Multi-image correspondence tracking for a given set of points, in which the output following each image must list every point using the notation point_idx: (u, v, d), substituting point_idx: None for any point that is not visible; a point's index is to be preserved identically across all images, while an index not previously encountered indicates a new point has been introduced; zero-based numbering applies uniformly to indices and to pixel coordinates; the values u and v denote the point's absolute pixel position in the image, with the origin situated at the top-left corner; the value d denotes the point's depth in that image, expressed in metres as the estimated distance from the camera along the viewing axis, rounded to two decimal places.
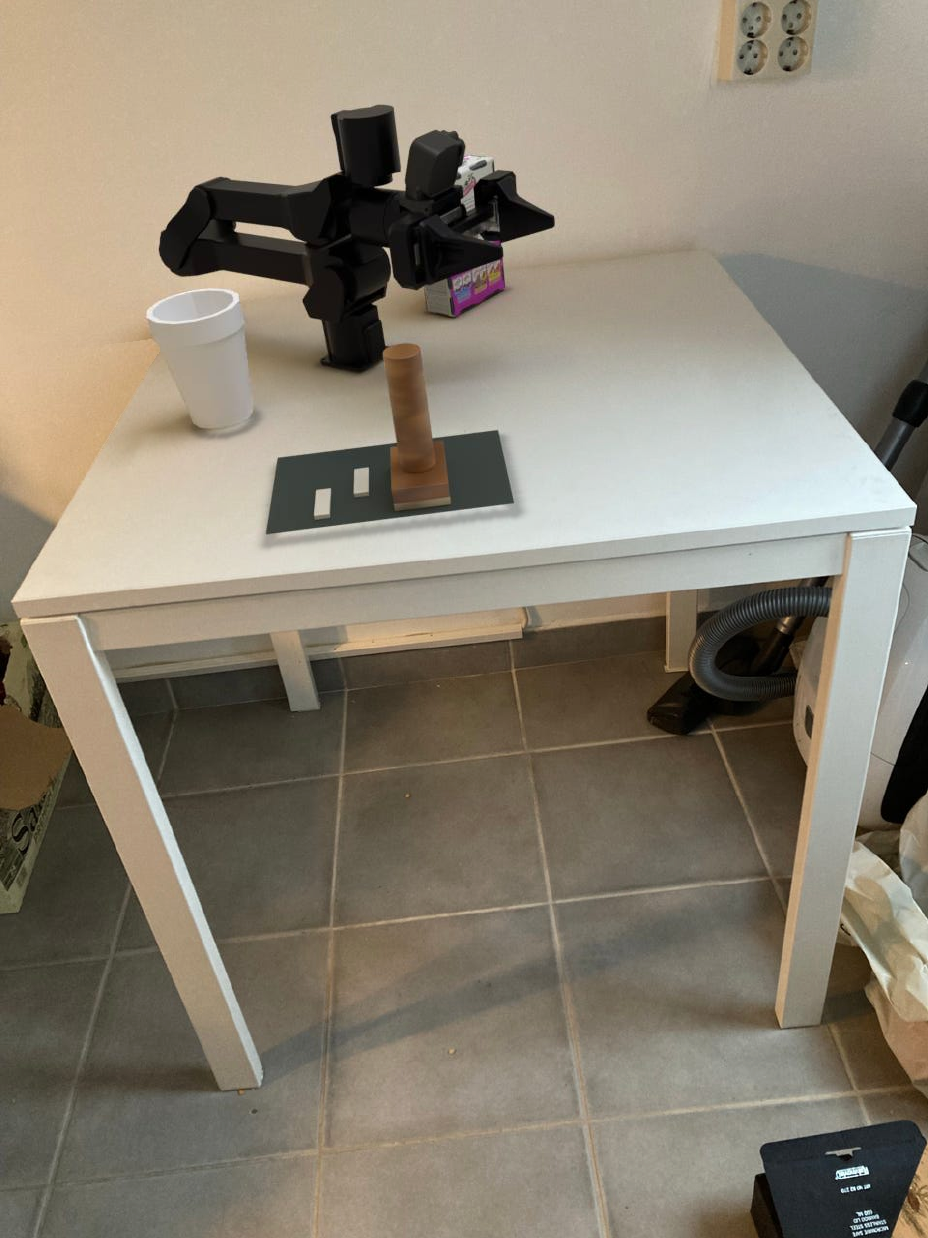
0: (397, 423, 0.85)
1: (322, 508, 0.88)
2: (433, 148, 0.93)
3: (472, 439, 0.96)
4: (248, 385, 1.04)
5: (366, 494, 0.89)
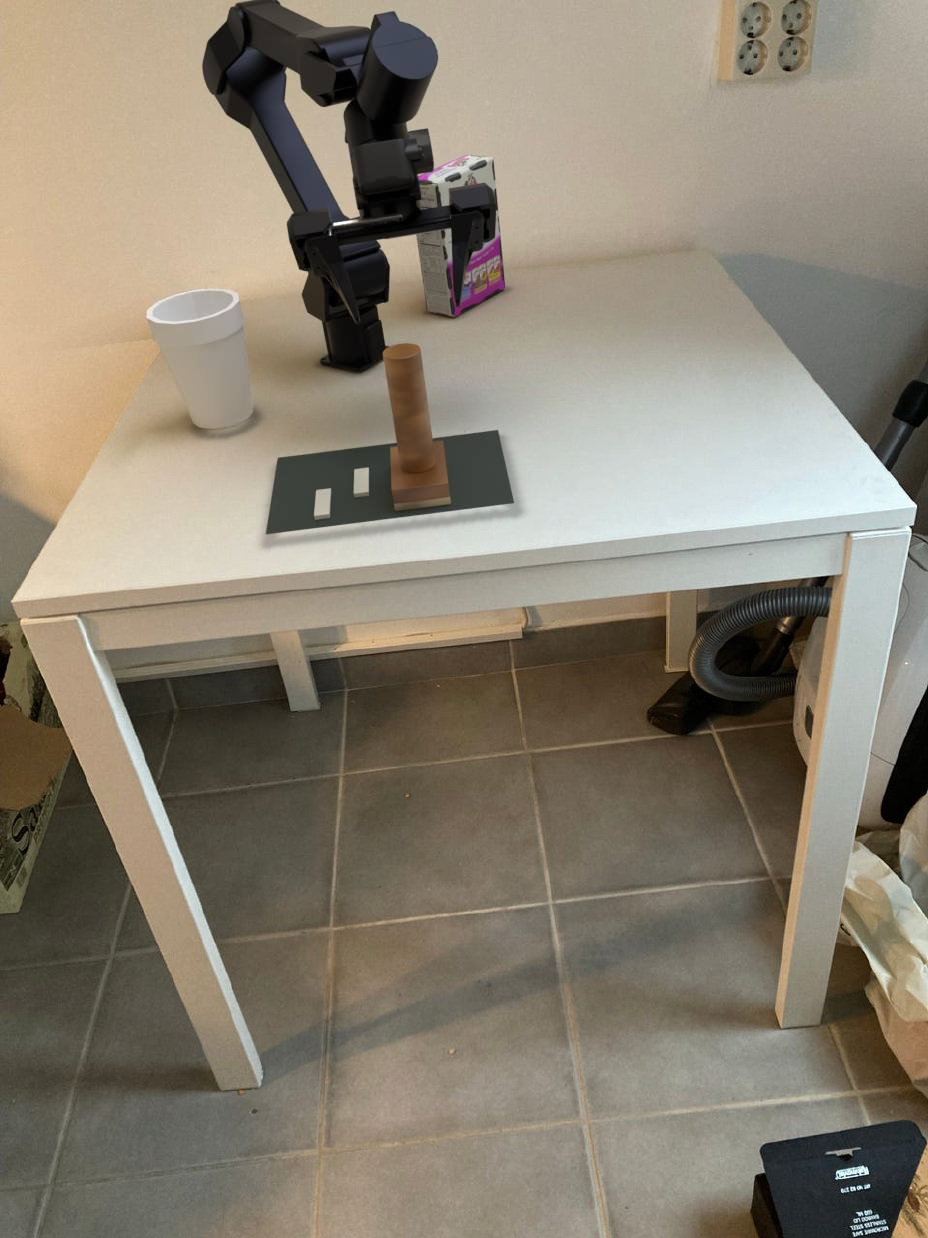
0: (397, 423, 0.85)
1: (322, 508, 0.88)
2: (365, 172, 0.83)
3: (472, 439, 0.96)
4: (248, 385, 1.04)
5: (366, 494, 0.89)
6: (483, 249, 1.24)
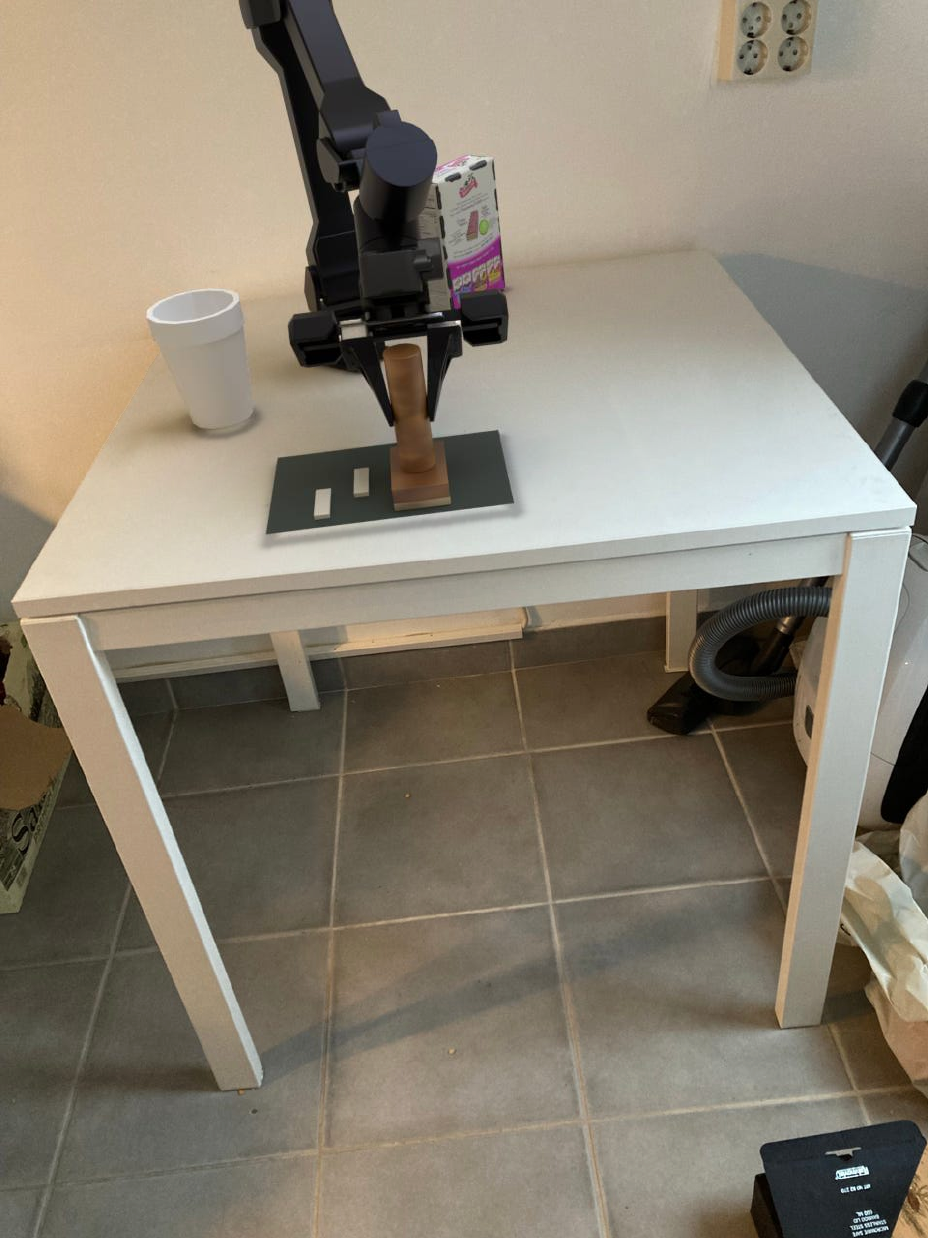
0: (397, 423, 0.85)
1: (322, 508, 0.88)
2: (370, 284, 0.78)
3: (472, 439, 0.96)
4: (248, 385, 1.04)
5: (366, 494, 0.89)
6: (483, 249, 1.24)
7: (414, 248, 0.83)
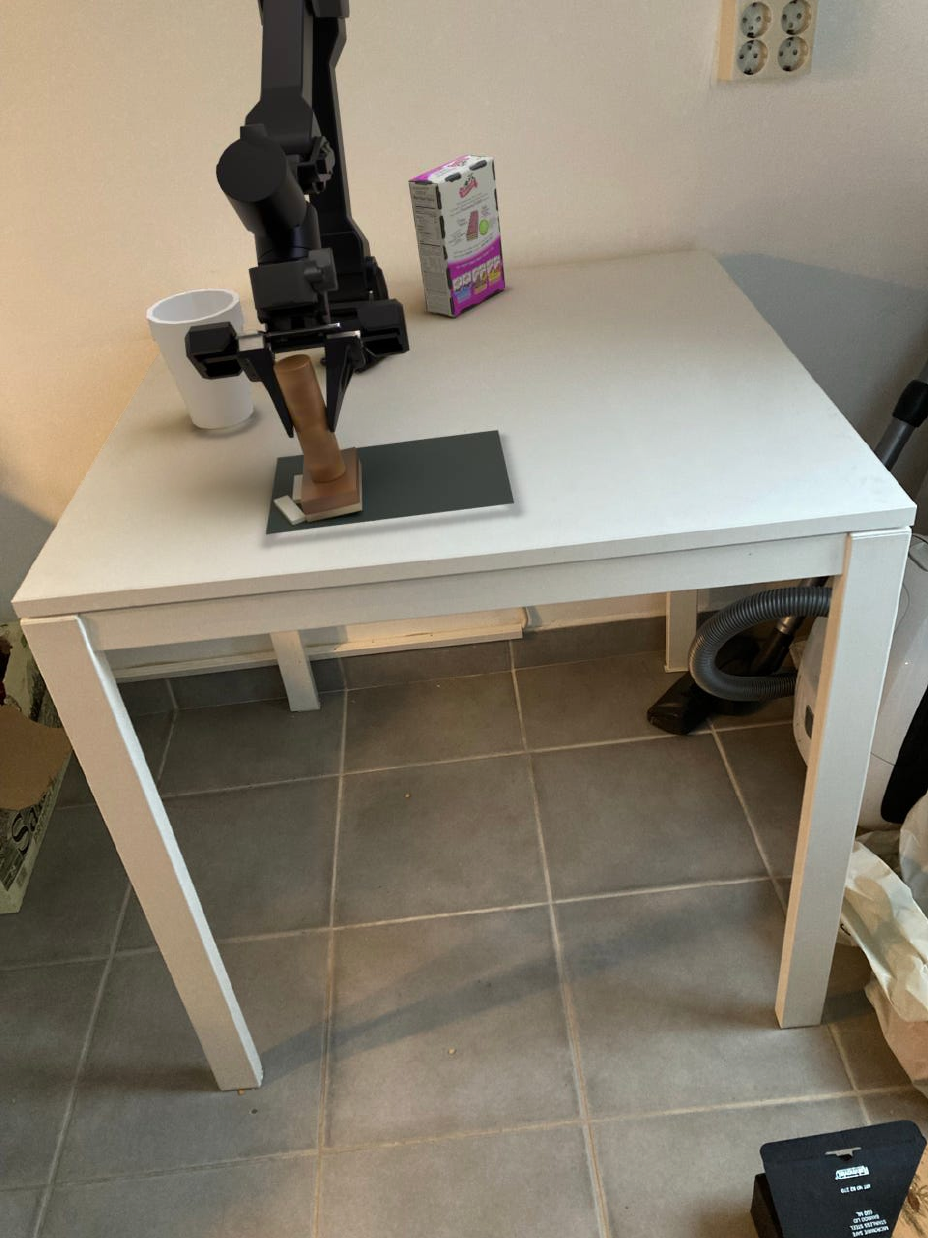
0: (299, 434, 0.85)
1: (295, 513, 0.87)
2: (260, 295, 0.78)
3: (472, 439, 0.96)
4: (248, 385, 1.04)
5: None
6: (483, 249, 1.24)
7: None
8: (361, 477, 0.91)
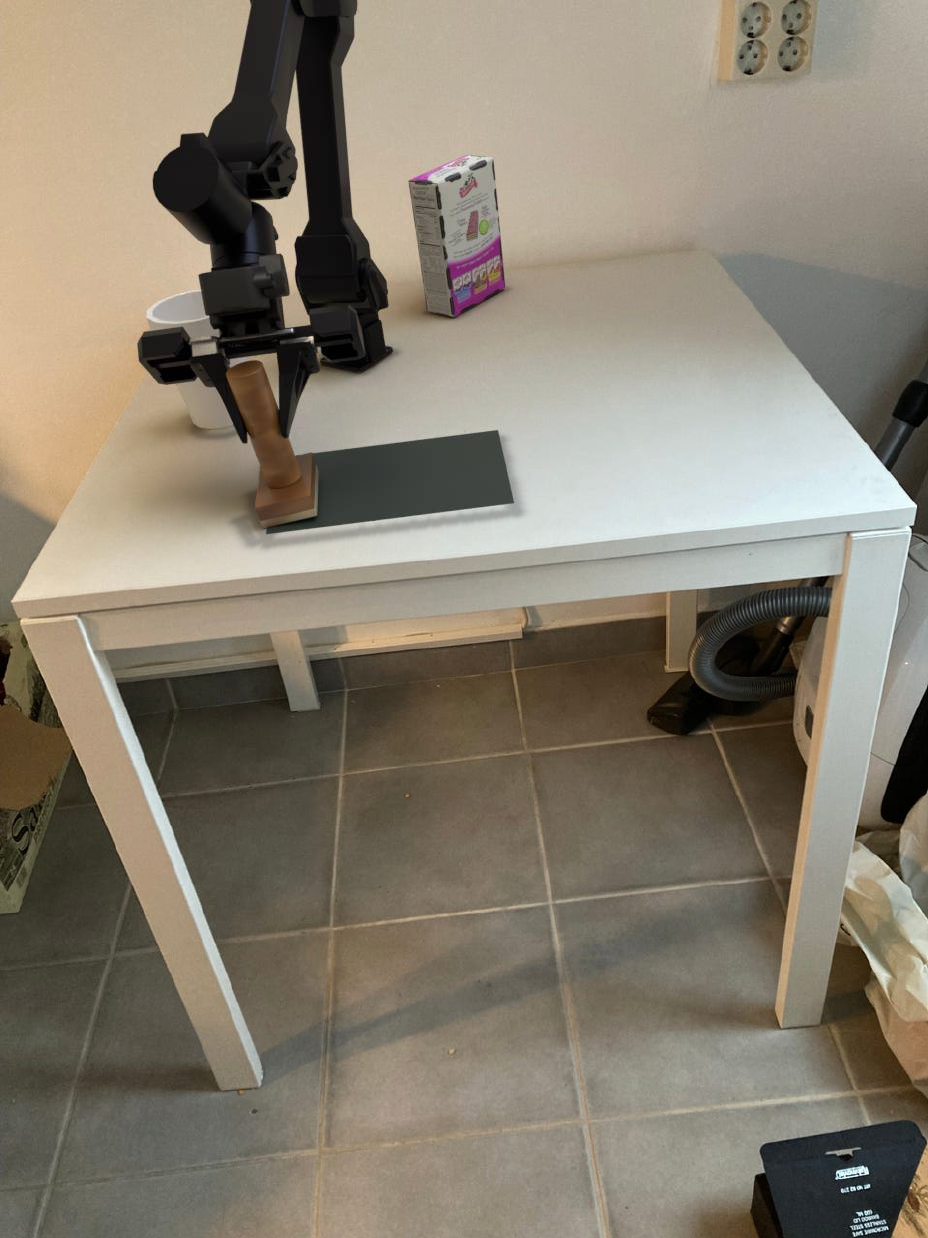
0: (253, 440, 0.85)
1: None
2: (210, 301, 0.78)
3: (472, 439, 0.96)
4: None
5: None
6: (483, 249, 1.24)
7: None
8: None
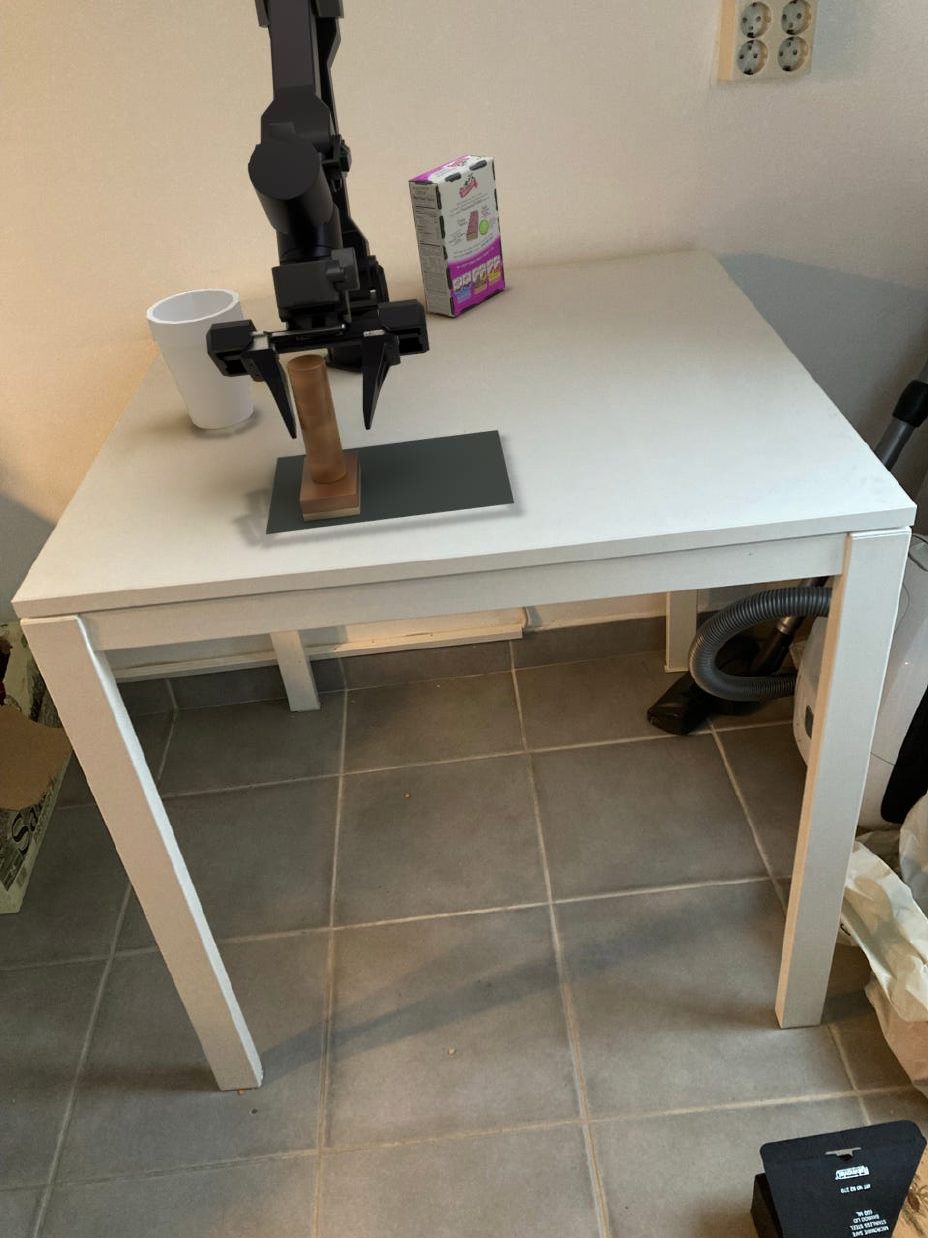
0: (304, 434, 0.85)
1: None
2: (283, 294, 0.78)
3: (472, 439, 0.96)
4: (248, 385, 1.04)
5: None
6: (483, 249, 1.24)
7: None
8: (360, 481, 0.91)
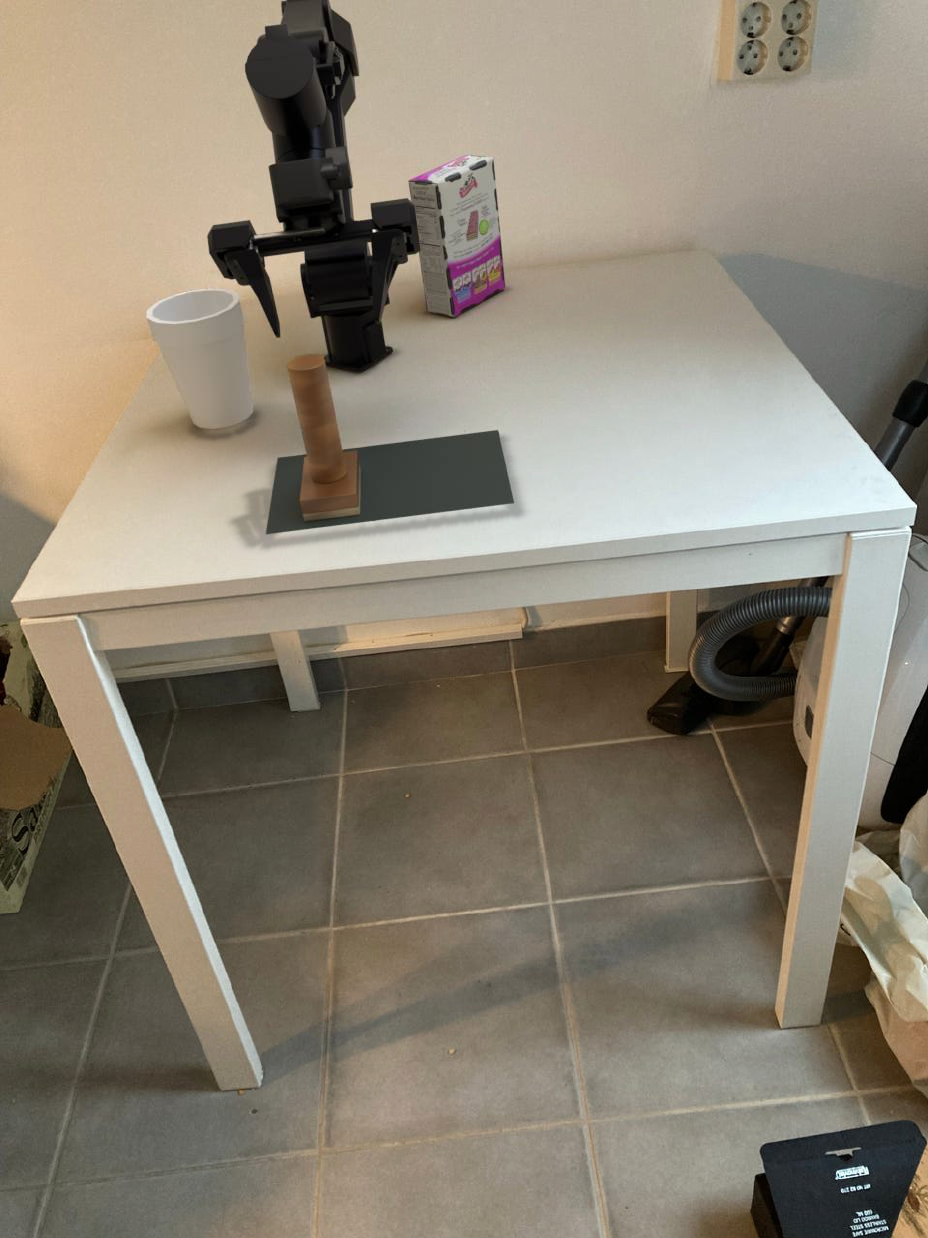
0: (304, 434, 0.85)
1: None
2: (280, 191, 0.82)
3: (472, 439, 0.96)
4: (248, 385, 1.04)
5: None
6: (483, 249, 1.24)
7: None
8: (360, 481, 0.91)
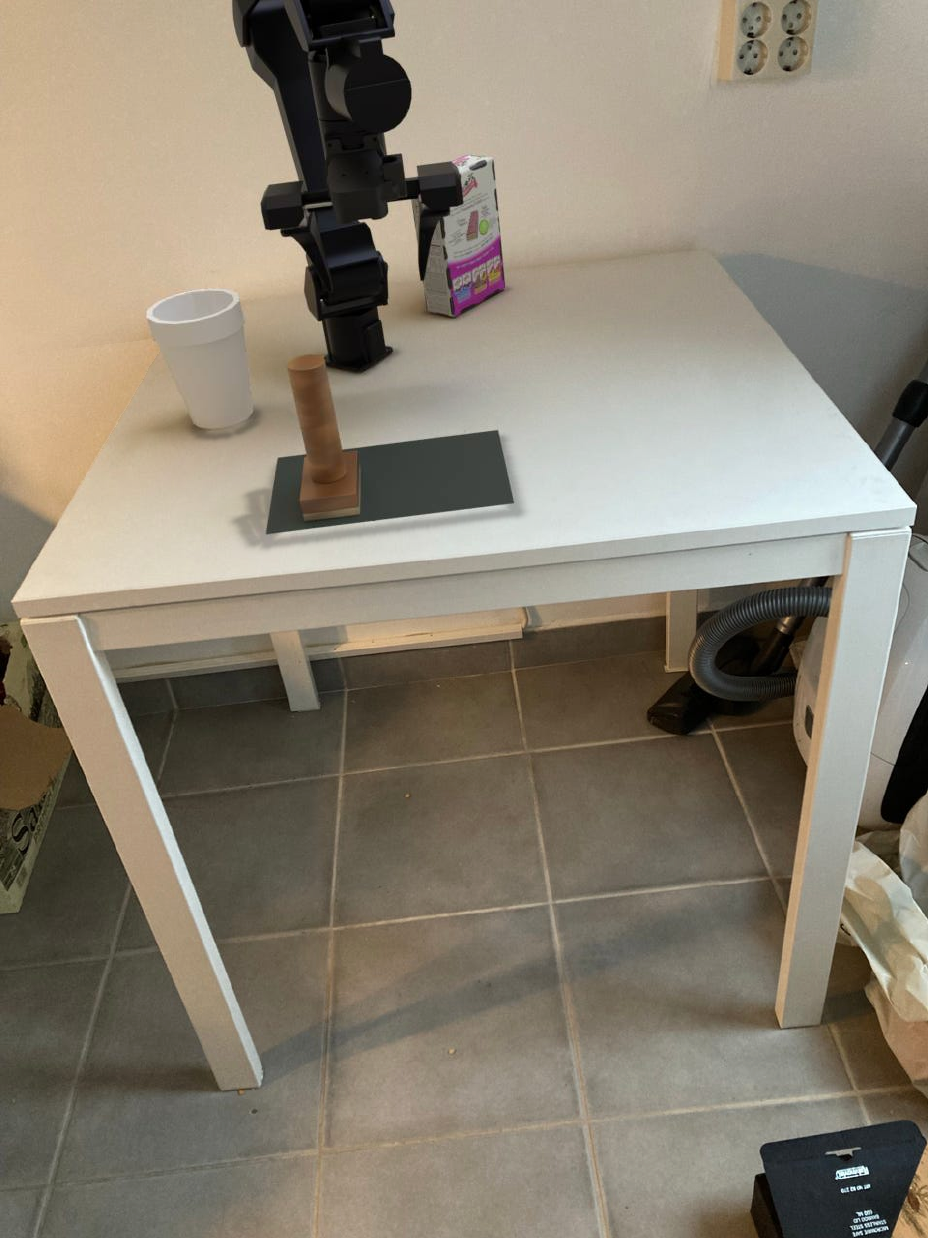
0: (304, 434, 0.85)
1: None
2: (342, 214, 0.86)
3: (472, 439, 0.96)
4: (248, 385, 1.04)
5: None
6: (483, 249, 1.24)
7: (375, 136, 0.87)
8: (360, 481, 0.91)
